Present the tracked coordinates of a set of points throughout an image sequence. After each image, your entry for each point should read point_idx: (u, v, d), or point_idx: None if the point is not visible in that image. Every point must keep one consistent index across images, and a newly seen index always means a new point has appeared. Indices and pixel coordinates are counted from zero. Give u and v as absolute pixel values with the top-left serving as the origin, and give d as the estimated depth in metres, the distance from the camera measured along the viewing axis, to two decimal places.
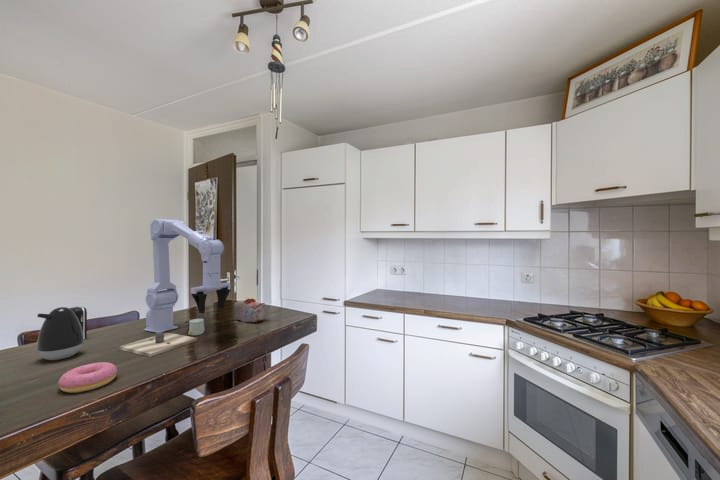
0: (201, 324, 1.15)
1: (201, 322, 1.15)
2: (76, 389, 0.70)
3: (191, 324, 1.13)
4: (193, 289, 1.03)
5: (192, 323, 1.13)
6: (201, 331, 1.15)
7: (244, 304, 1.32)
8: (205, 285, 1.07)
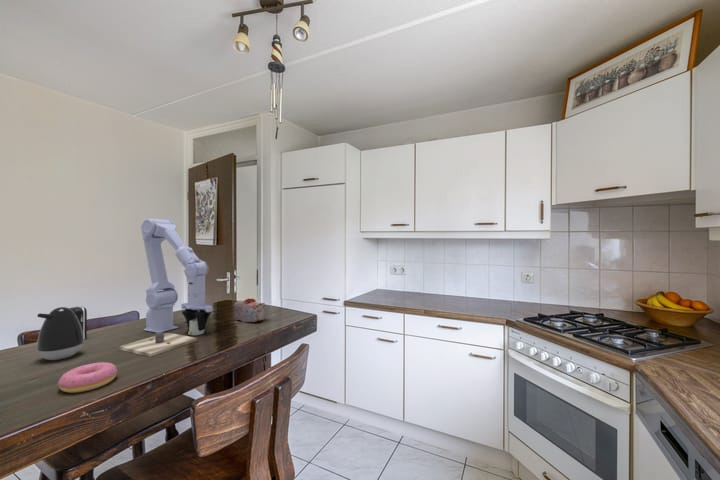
0: None
1: None
2: (76, 389, 0.70)
3: (191, 324, 1.13)
4: None
5: (192, 323, 1.13)
6: (201, 331, 1.15)
7: (244, 304, 1.32)
8: None
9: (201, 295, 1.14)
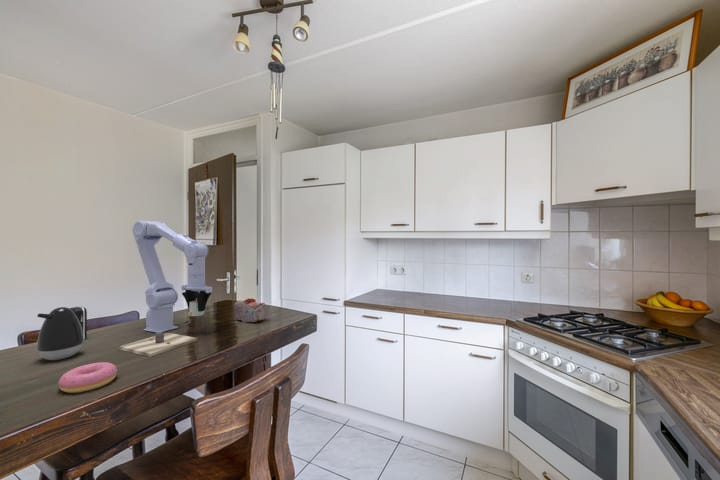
0: None
1: None
2: (76, 389, 0.70)
3: (191, 305, 1.13)
4: None
5: (192, 304, 1.13)
6: (201, 312, 1.15)
7: (244, 304, 1.32)
8: None
9: (201, 276, 1.14)
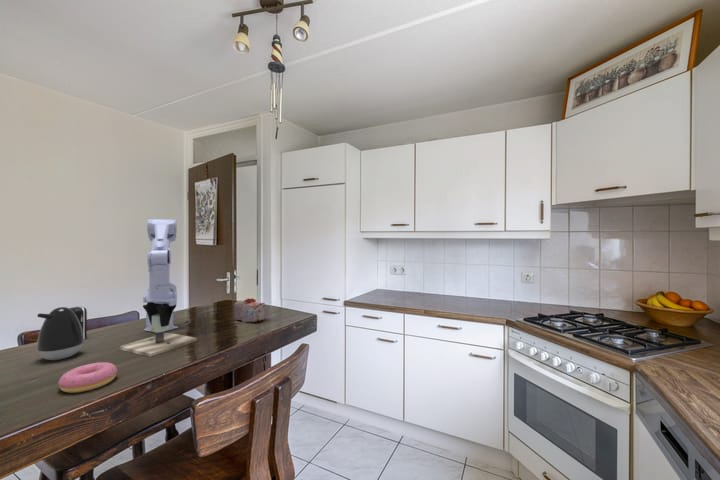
0: None
1: None
2: (76, 389, 0.70)
3: (154, 320, 1.00)
4: None
5: (154, 318, 1.00)
6: (165, 327, 1.02)
7: (244, 304, 1.32)
8: None
9: (164, 287, 1.01)
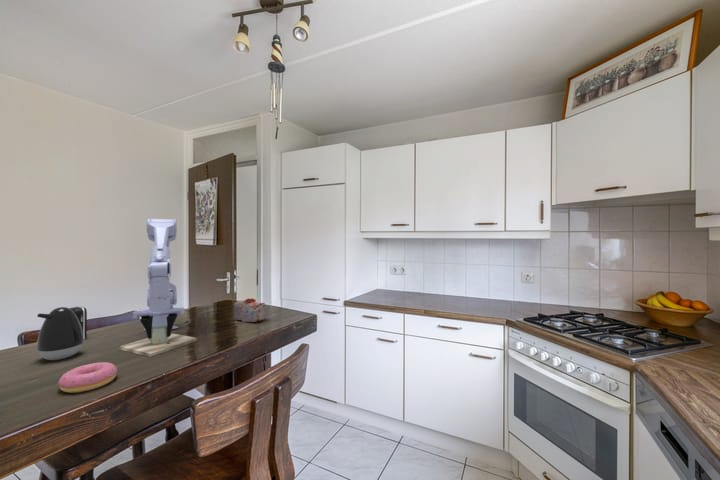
0: None
1: None
2: (76, 389, 0.70)
3: (159, 331, 1.01)
4: None
5: (160, 330, 1.01)
6: None
7: (244, 304, 1.32)
8: (149, 309, 1.01)
9: (169, 298, 1.04)
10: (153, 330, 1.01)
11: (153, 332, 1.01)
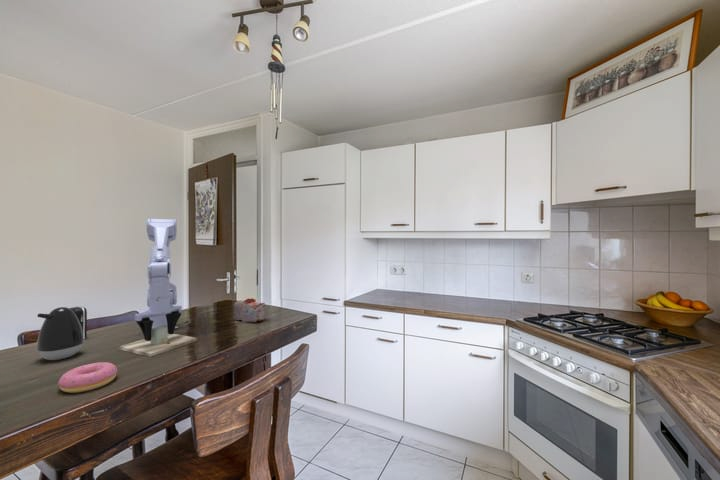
0: None
1: None
2: (76, 389, 0.70)
3: (164, 330, 1.02)
4: (137, 316, 0.96)
5: (165, 329, 1.02)
6: None
7: (244, 304, 1.32)
8: (152, 310, 1.00)
9: None
10: (158, 330, 1.01)
11: (158, 332, 1.01)
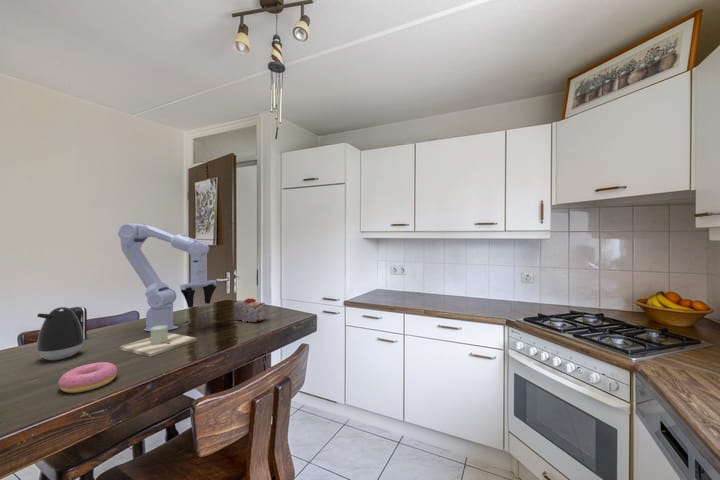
0: None
1: None
2: (76, 389, 0.70)
3: (164, 330, 1.02)
4: (182, 286, 1.15)
5: (165, 329, 1.02)
6: None
7: (244, 304, 1.32)
8: (193, 282, 1.19)
9: None
10: (158, 330, 1.01)
11: (158, 332, 1.01)
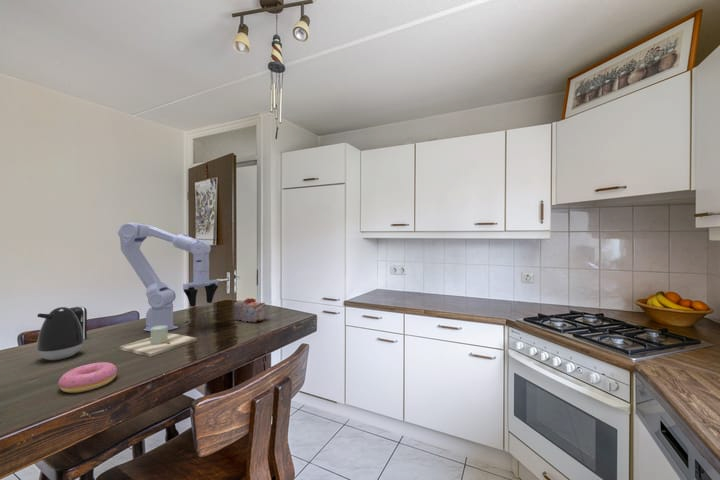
0: None
1: None
2: (76, 389, 0.70)
3: (164, 330, 1.02)
4: (185, 285, 1.16)
5: (165, 329, 1.02)
6: None
7: (244, 304, 1.32)
8: (196, 281, 1.20)
9: None
10: (158, 330, 1.01)
11: (158, 332, 1.01)
